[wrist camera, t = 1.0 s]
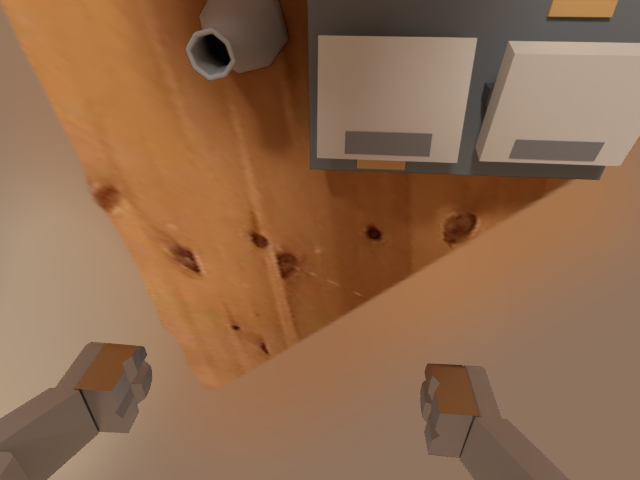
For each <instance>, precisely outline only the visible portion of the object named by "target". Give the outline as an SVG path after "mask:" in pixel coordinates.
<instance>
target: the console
mask: <svg viewBox="0 0 640 480" xmlns="http://www.w3.org/2000/svg"><path fill="white" fill-rule="evenodd" d="M307 5H308V62H309V119H310V169H322V170H348V171H375V172H402V173H428V174H455V175H482V176H508V177H535V178H561V179H589V180H599V179H600V177H601V175H602V173H603V171H604V168H605V166H602V165H573V164H545V163H517V162H488V161H479V158H478V155H477V151H476V148H475V146H476V143H477V140H478V137H479V133H480V130H481V127H482V124H483V121H484V117H485V114H486V111H487V108H488V105H489V101H490V98H491V95H492V92H493V89H494V85H495V82H496V79H497V76H498V73H499V69H500V66H501V63H502V60H503V57H504V53H505V50H506V47H507V44H508V41H549V42H612V43H640V0H307ZM318 35H328V36H392V37H456V38H477V44H476V50H475V56H474V62H473V68H472V74H471V80H470V87H469V93H468V99H467V105H466V111H465V117H464V123H463V130H462V136H461V142H460V148H459V154H458V160H457V163H442V162H414V161H386V160H358V159H330V158H317V100H318Z"/></svg>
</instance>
